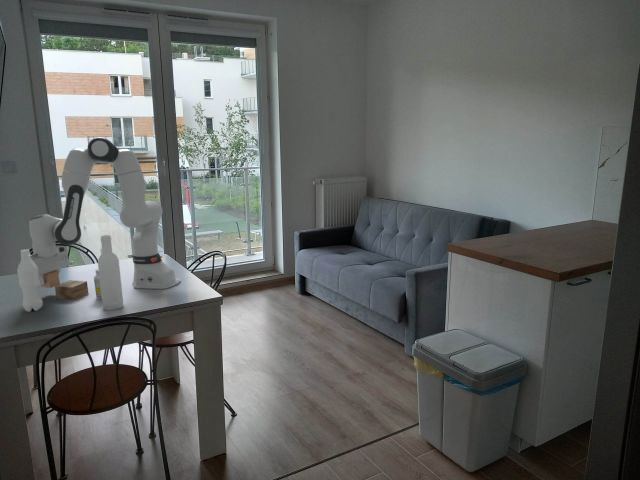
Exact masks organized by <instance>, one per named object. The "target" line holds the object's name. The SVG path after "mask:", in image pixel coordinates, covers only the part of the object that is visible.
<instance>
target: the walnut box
mask: <svg viewBox="0 0 640 480" xmlns="http://www.w3.org/2000/svg"><path fill="white" fill-rule="evenodd" d="M54 290H55V298H56V300H66V301H75V300H78V299H80V298H82V297H85V296H87V295H89V287H88V281H86V280H67V281H65V282H62V283H60V284H59V285H56V286H54Z"/></svg>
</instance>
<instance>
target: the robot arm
mask: <svg viewBox="0 0 640 480" xmlns="http://www.w3.org/2000/svg"><path fill="white" fill-rule="evenodd" d="M108 164H111V165H112V166H113V168H114V170H115V174H116V176H117V177H116V178H117V179H118V183H119V188H120V191H121V195H122V206H121V207H122V209H121V211H120V212H119V213H120V214H119V220H120V222H121V224H122V225H123V226H125V227H126V228H130V229H131V228H132V229H135V231H134V234H133V236H132V238H131V242H132V252H133V254H132V262H133V266H134V267H133V281H132V286H133V289H151V290H154V289H155V290H164V289H168V288H172V287H174V286H177V285H178V284H179V283H181V278H176V274H175V270H174V269H173V268H171V267H170V266H169V265H168V264H167V263H165V262H164V261H163V260H162V258H164V255H163V254H162V255H160V253H159V251H158V250H159V249H158V230H159V224H160V220H161V217H162V215H163V207H162V205H161V204H160V203H159V202H157V201H154V200H146V190H147V183H146V180H145V177H144V174H143V170H142V167H141V165H140V162H139V159H138V157H137V156H136V153H134V151H133V150H131V149H128V148H122V149H119V148H118V147H117V146H116V145H115V144H114V143H113V142H112V141H110V140H109V138H105V137H103V136H97V137H94V138H92V139H91V140H90V141H89V142H88V144H87V148H84V149H83V148H72V149H71V150H70V151H69V153H68V155H67V157H66V158H65V162H64V164H63V169H62V172H61V173H62V174H61V187H62V190H63V192H64V196H65V204H64V210H63V215H62V218H59V217H55V216H52V215H50V214H49V213H41V214H38V215H35V216H33V217H31V218H30V219H29V224H28V227H29V235H30V238H31V241H32V245H31V248H32V251H33V254H30V255H31V256H30V257H31V259H32V261H33V262H34V263H35V264H36V266H37V267H38V275H39V281H40V282H41V283H40V285H41V284H45V283H46V280H44V279H43V274H45V273H48V272H51V271H59V273H58V275H60V272H61V269H64V268H66V267H68V266H69V265H70V264H69V255H68V253H67V247H66V246H72V245H75V244H77V243H78V241H80V240H81V237H82V229H81V225H80V218H81V211H82V206H83V201H84V197H85V194H86V191H87V188H88V185H89V182H90V179H91V175H92V170H93V167H94V166H95V165H108ZM56 242H58V243H59V244H61V245H62V246H61V245H60V246H59V245H56Z"/></svg>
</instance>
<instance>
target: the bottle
mask: <svg viewBox="0 0 640 480" xmlns="http://www.w3.org/2000/svg"><path fill="white" fill-rule="evenodd" d="M100 243H101V250H102V252H101V254H100V255H99V257H98V261H97V269H99V277H100V286H101V295H102V299H101V304H102V309H103V310H105V311H115V310H119V309H122V308H124V297H123V287H122V278H121V269H120V268H121V267H120V260H119V258H118V256H117V254H115V253H114V252H113V248H112V236H111V235H110V234H108V235H107V234H106V235H101V236H100Z"/></svg>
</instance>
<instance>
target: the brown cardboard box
mask: <svg viewBox="0 0 640 480" xmlns="http://www.w3.org/2000/svg"><path fill="white" fill-rule="evenodd" d="M58 273H59V275H60V272H59V271H51V272H48V273H45V274H43V279H44V280H46V283H45V284H41V282H40V287H41V288H49V289H51V288H55V286H56V285H59V284H61V282H60V276H59V275H58Z"/></svg>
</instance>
